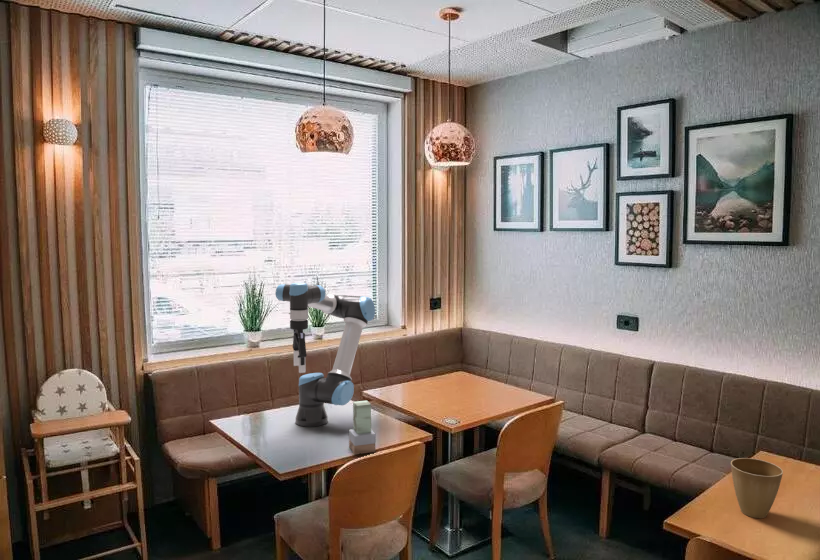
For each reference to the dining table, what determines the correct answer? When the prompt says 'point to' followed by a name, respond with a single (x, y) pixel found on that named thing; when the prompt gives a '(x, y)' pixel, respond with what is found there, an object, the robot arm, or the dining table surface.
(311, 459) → the dining table surface
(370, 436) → the slate block
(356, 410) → the sage block
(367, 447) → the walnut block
